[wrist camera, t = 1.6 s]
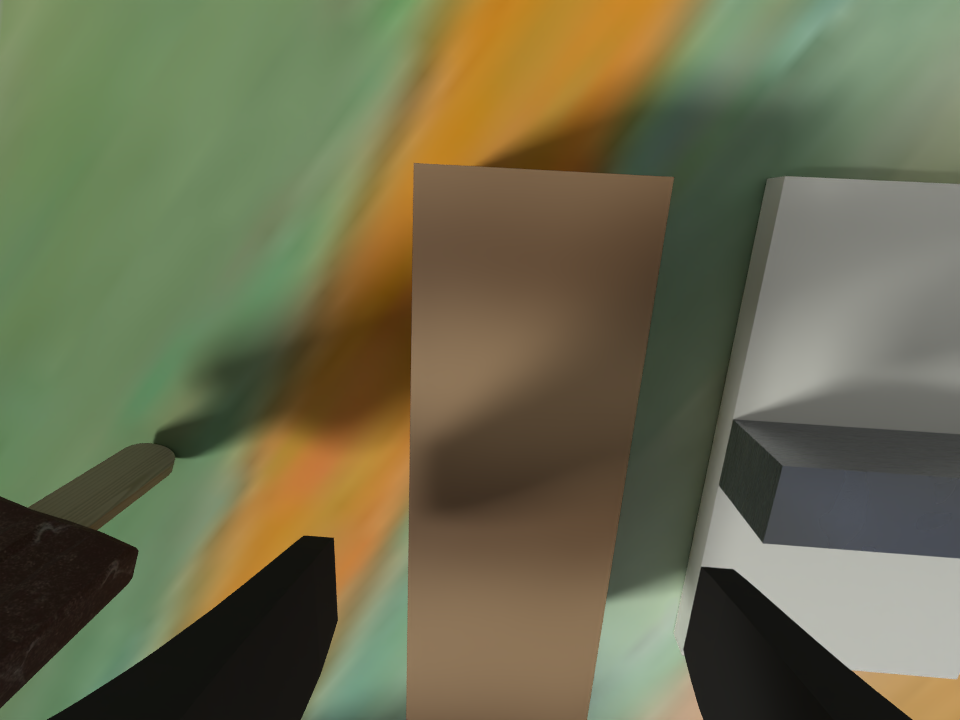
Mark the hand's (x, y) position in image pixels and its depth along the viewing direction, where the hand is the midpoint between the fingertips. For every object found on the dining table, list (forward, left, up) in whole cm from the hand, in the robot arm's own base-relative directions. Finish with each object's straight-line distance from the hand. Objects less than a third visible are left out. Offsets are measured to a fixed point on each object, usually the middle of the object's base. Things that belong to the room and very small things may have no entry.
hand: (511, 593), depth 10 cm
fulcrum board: (0, -12, -8) cm, 14 cm away
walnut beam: (0, 0, -8) cm, 8 cm away
